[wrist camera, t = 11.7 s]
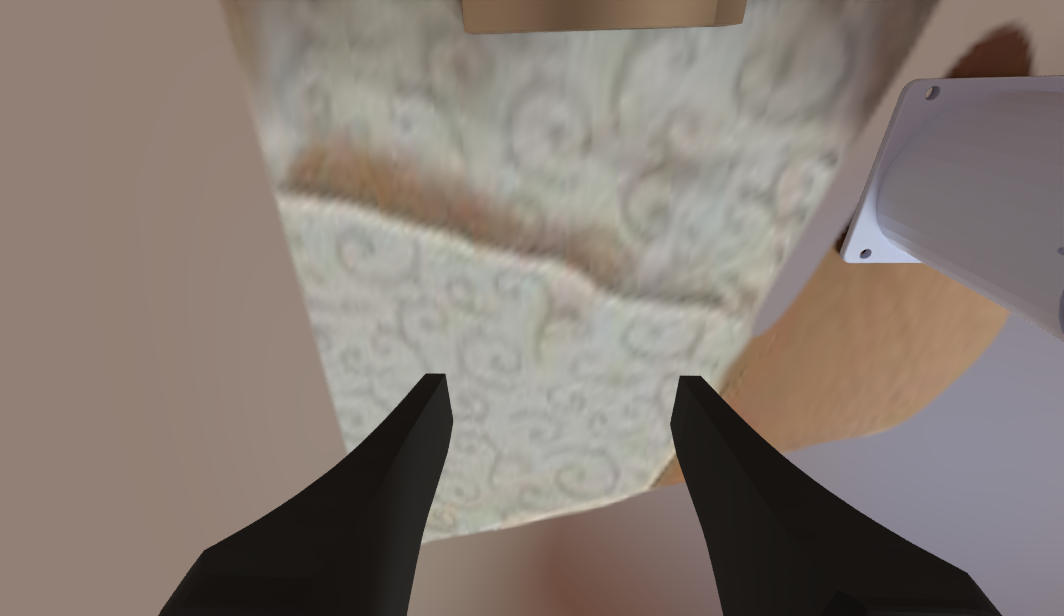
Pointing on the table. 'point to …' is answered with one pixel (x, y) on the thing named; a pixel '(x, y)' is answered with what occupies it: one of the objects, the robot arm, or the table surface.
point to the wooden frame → (596, 15)
